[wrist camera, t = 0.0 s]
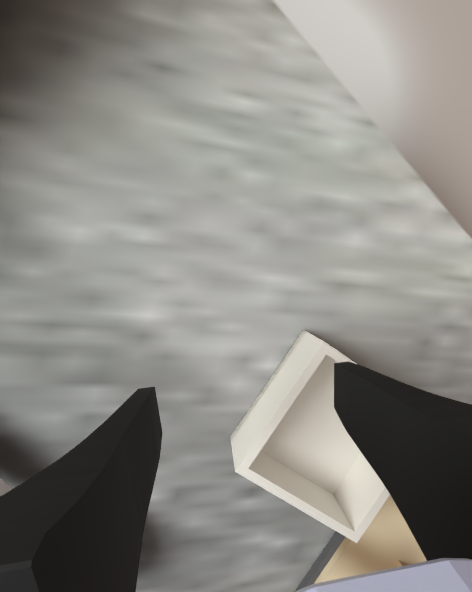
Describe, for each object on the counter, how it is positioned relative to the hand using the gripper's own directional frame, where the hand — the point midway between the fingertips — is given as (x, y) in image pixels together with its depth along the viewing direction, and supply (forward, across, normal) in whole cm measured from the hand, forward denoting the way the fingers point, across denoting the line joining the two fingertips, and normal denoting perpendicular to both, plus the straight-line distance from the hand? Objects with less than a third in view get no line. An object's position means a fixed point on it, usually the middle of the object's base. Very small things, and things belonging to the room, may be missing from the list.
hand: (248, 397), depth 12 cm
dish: (+9, -6, +9) cm, 14 cm away
